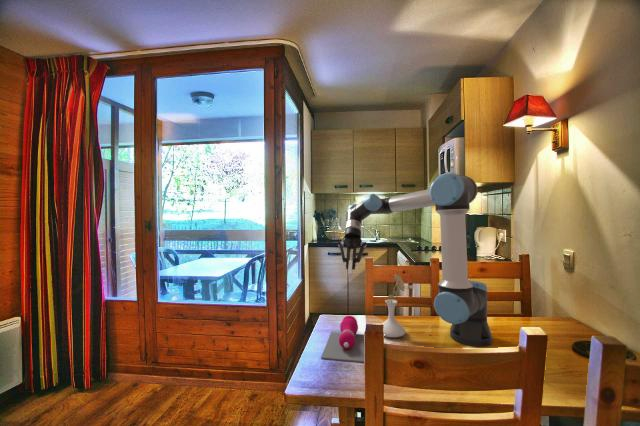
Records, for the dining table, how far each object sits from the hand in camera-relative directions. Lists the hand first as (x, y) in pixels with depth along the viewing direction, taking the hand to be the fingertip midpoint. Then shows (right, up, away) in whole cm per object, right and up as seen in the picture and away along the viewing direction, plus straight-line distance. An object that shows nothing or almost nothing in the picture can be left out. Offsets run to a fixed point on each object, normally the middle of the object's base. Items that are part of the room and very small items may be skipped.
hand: (349, 275), depth 124 cm
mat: (-2, -25, -10) cm, 27 cm away
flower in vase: (+18, -25, +2) cm, 31 cm away
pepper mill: (0, -21, +3) cm, 21 cm away
